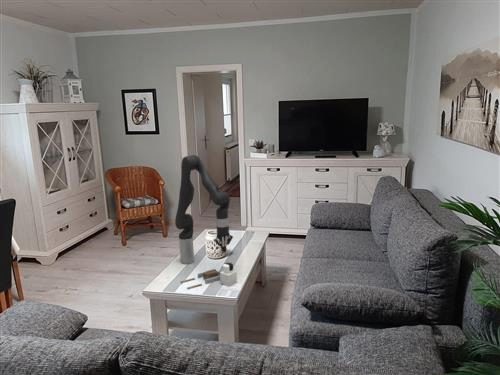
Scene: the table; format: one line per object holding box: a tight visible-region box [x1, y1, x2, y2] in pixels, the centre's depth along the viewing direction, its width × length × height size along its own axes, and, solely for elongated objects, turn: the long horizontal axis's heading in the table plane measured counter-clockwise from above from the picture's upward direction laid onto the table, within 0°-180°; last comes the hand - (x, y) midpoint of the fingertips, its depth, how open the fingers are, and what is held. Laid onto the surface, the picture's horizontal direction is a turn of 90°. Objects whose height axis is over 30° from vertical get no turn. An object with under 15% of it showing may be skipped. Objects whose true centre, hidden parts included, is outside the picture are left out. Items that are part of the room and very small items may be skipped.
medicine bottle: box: [219, 262, 238, 287], centre depth 225 cm, size 7×7×12 cm
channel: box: [197, 268, 220, 285], centre depth 233 cm, size 12×12×2 cm
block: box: [202, 268, 219, 281], centre depth 233 cm, size 4×8×4 cm, turn 123°
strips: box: [180, 277, 203, 290], centre depth 227 cm, size 11×9×1 cm
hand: (224, 251), depth 235 cm, fingers closed
